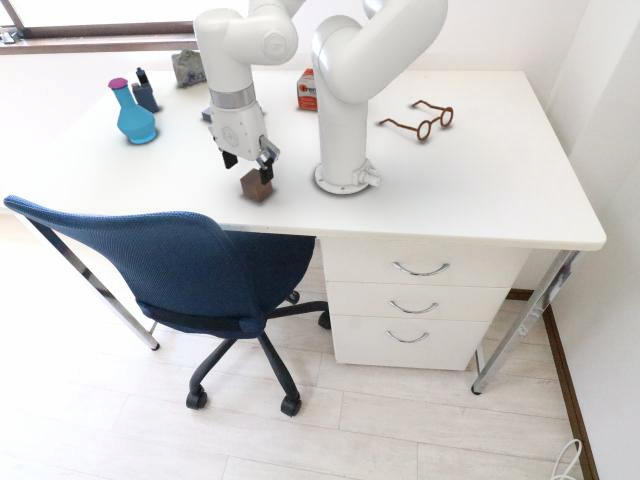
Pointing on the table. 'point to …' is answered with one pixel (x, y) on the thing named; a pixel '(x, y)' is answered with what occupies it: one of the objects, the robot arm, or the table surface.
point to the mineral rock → (188, 67)
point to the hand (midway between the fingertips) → (249, 173)
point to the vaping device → (144, 92)
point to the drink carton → (307, 91)
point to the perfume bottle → (132, 114)
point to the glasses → (448, 109)
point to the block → (255, 186)
